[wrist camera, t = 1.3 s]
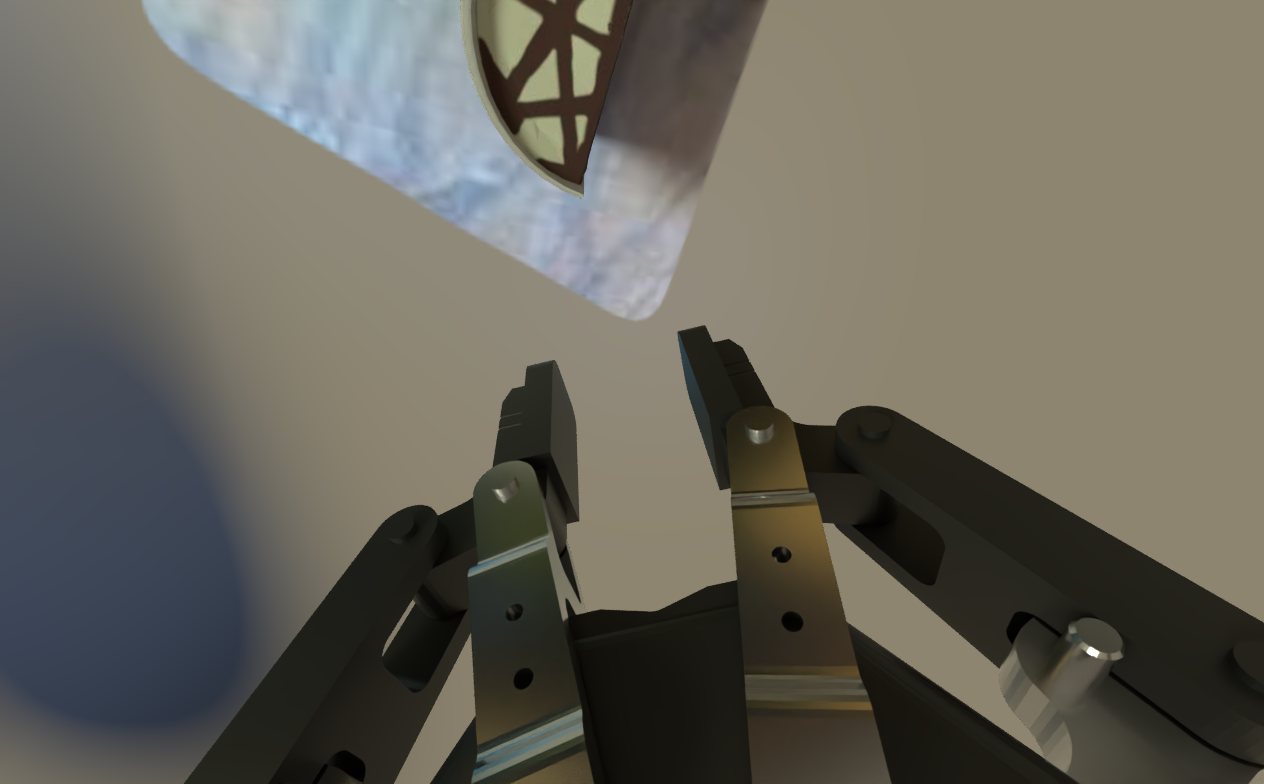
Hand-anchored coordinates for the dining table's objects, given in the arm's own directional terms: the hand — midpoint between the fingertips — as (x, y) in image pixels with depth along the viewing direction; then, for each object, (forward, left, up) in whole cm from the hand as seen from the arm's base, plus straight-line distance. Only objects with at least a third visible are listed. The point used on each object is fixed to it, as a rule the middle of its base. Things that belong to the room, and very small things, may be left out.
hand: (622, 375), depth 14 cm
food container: (-8, 0, -21) cm, 23 cm away
